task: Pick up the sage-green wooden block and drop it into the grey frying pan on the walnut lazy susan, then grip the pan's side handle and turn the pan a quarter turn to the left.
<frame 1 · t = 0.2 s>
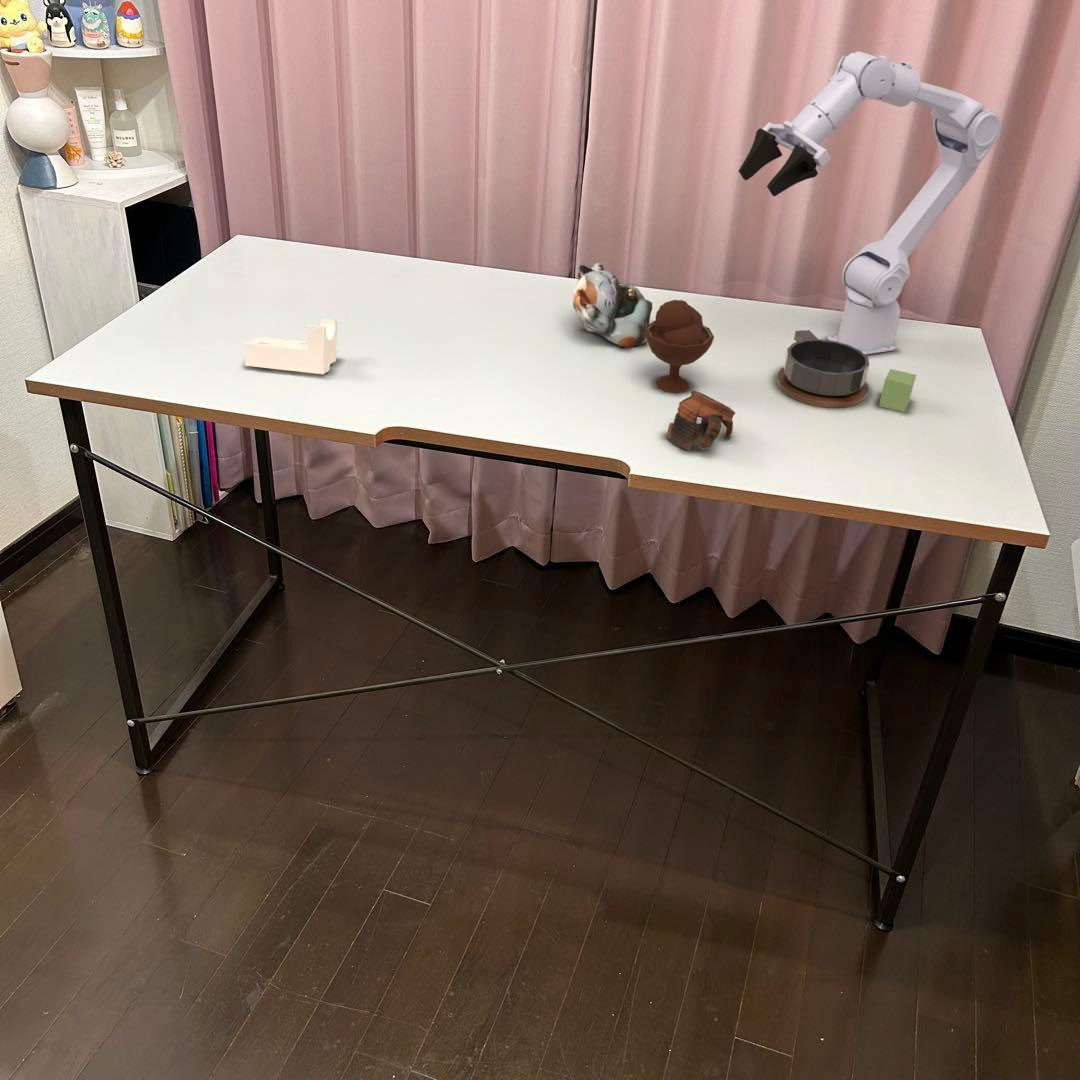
hand: (756, 183, 176), 31 cm above the table, tool tilted 50°, fingers open, 7 cm apart
pottery mug: (700, 442, 172), on the table
ice cream bowl: (672, 386, 188), on the table
grey frying pan: (820, 363, 189), point 3 cm above the table, hinge at 0.0°
lucky cat figurine: (611, 336, 203), on the table
bracket: (293, 364, 187), on the table
block: (893, 404, 186), on the table
lazy susan: (821, 386, 190), on the table
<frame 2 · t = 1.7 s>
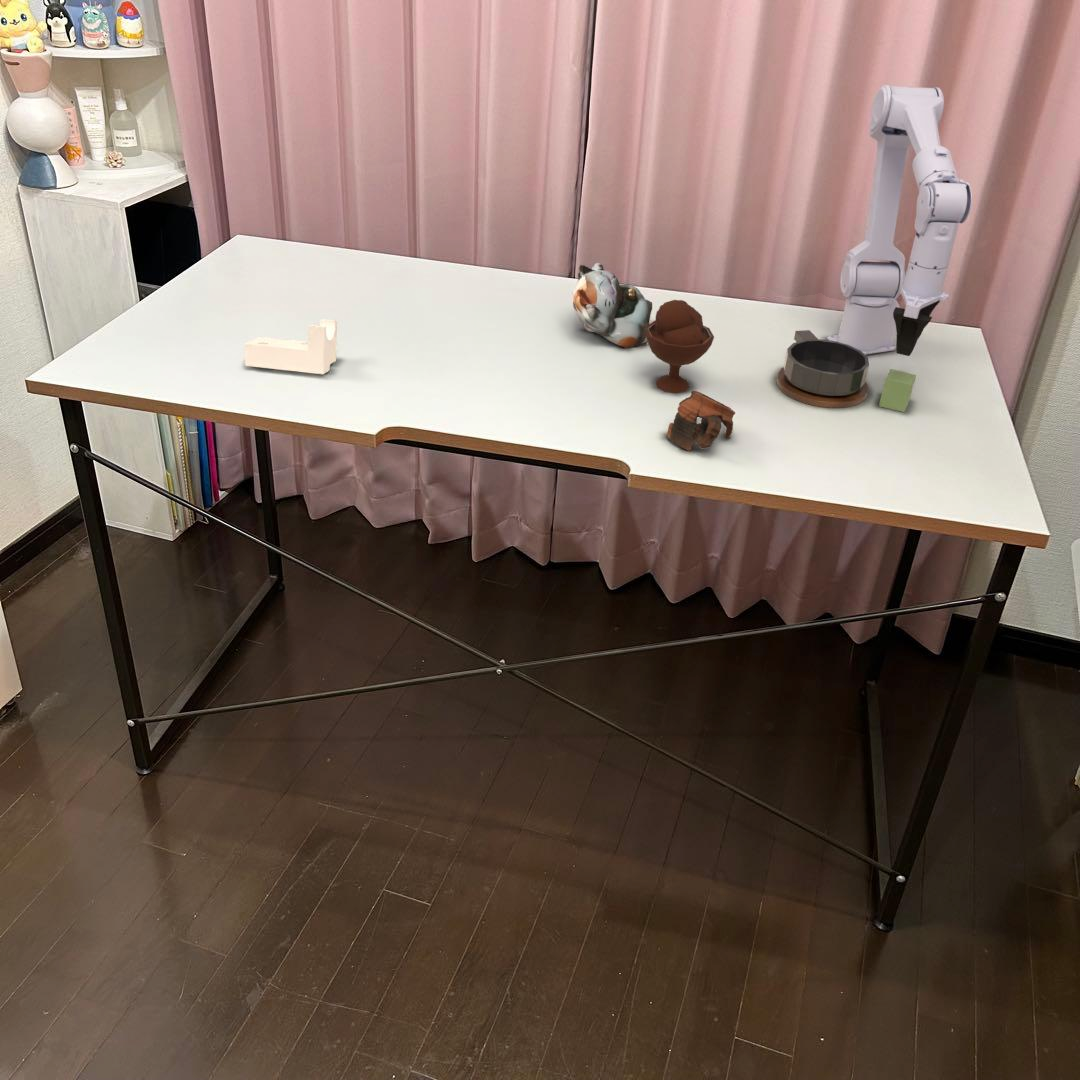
hand: (907, 345, 180), 10 cm above the table, tool pointing down, fingers open, 7 cm apart
nothing on the table moved.
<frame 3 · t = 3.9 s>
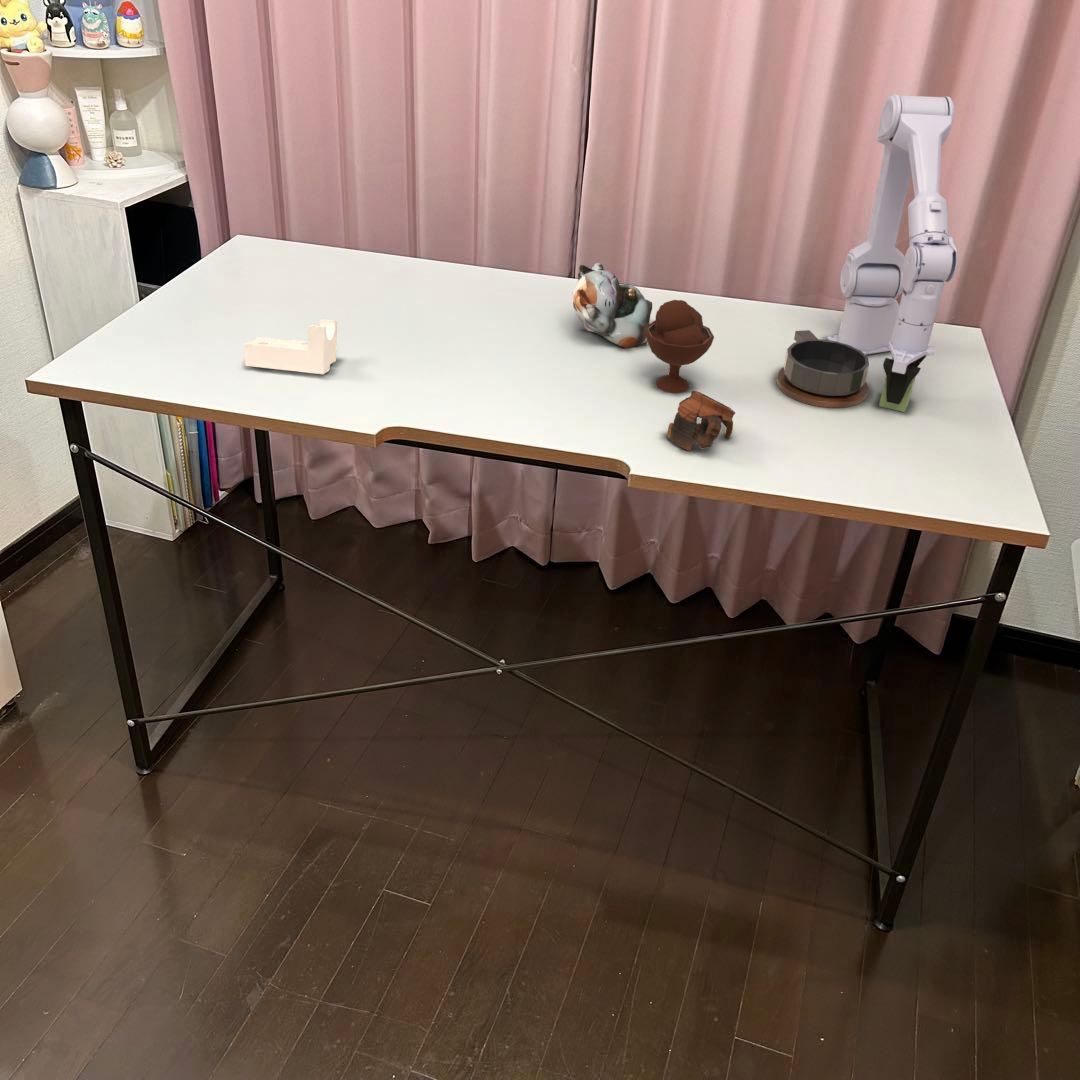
hand: (895, 396, 185), 1 cm above the table, tool pointing down, fingers closed on block, 4 cm apart
block: (893, 404, 186), on the table, touching gripper
everything else where it was.
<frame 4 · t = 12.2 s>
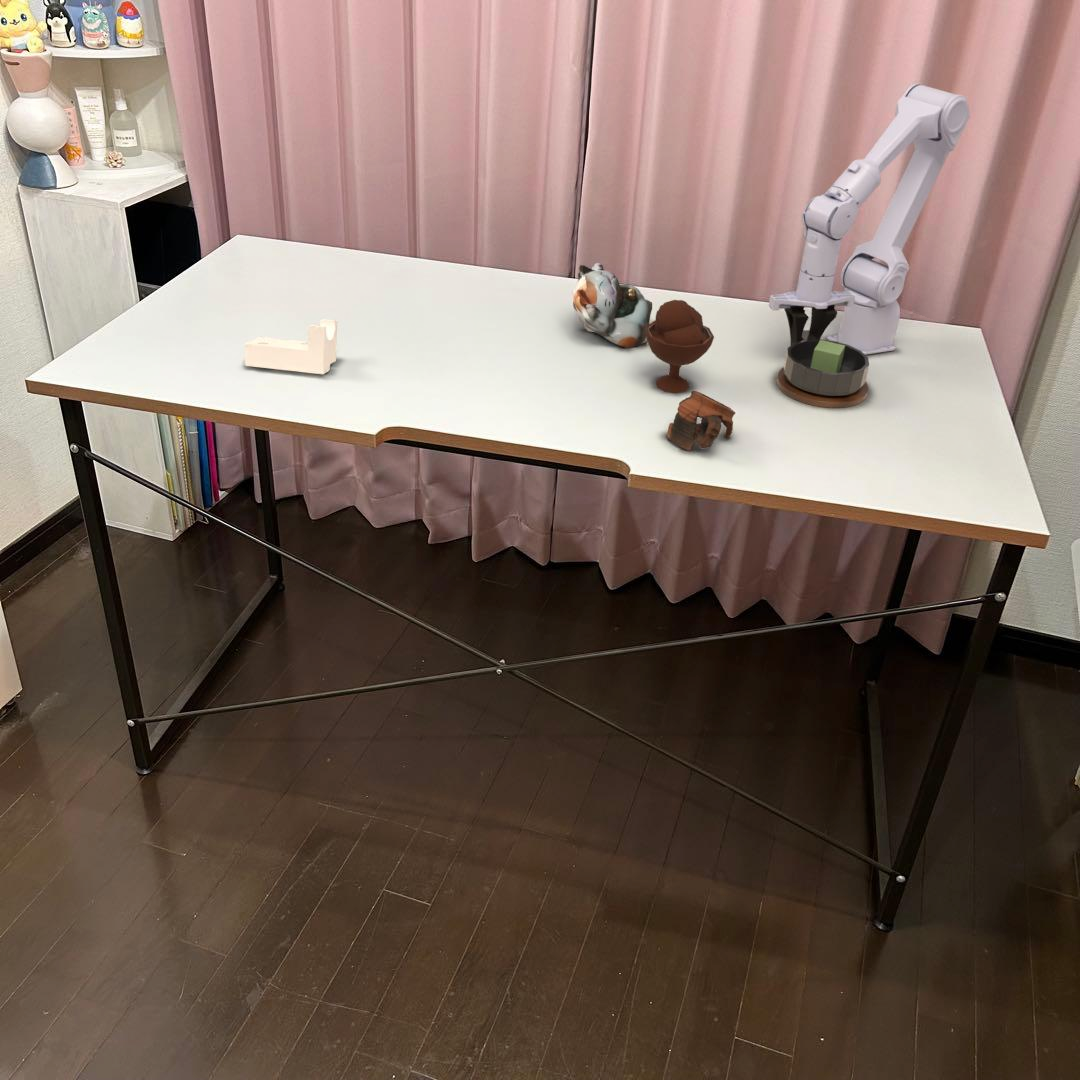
hand: (802, 346, 195), 3 cm above the table, tool pointing down, fingers closed on grey frying pan, 3 cm apart
grey frying pan: (820, 363, 189), point 3 cm above the table, hinge at -0.1°, touching block, gripper
block: (824, 374, 189), point 2 cm above the table, touching grey frying pan
everything else where it was.
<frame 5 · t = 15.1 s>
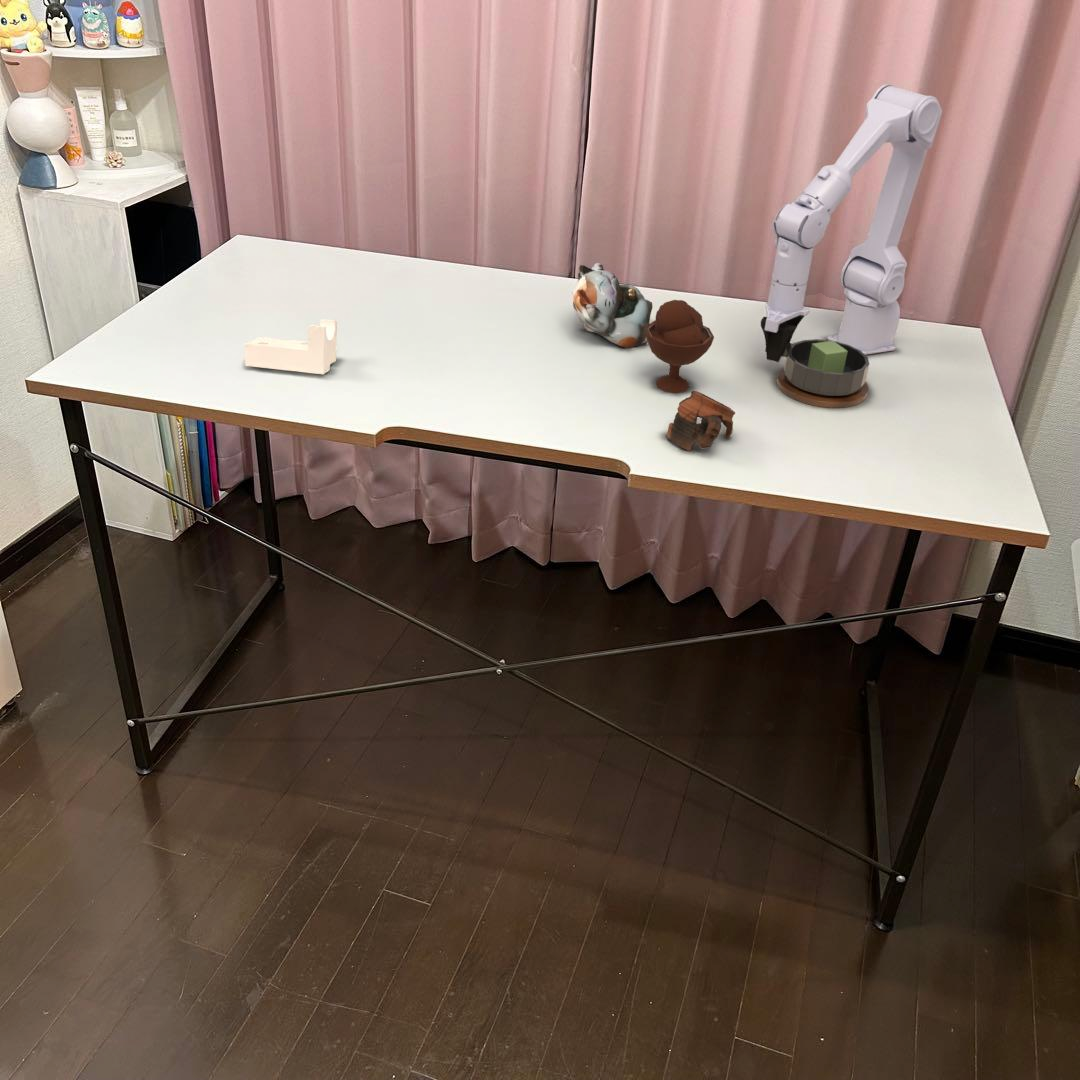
hand: (775, 356, 191), 3 cm above the table, tool pointing down, fingers closed on grey frying pan, 3 cm apart
grey frying pan: (814, 365, 189), point 3 cm above the table, hinge at 46.7°, touching block, gripper
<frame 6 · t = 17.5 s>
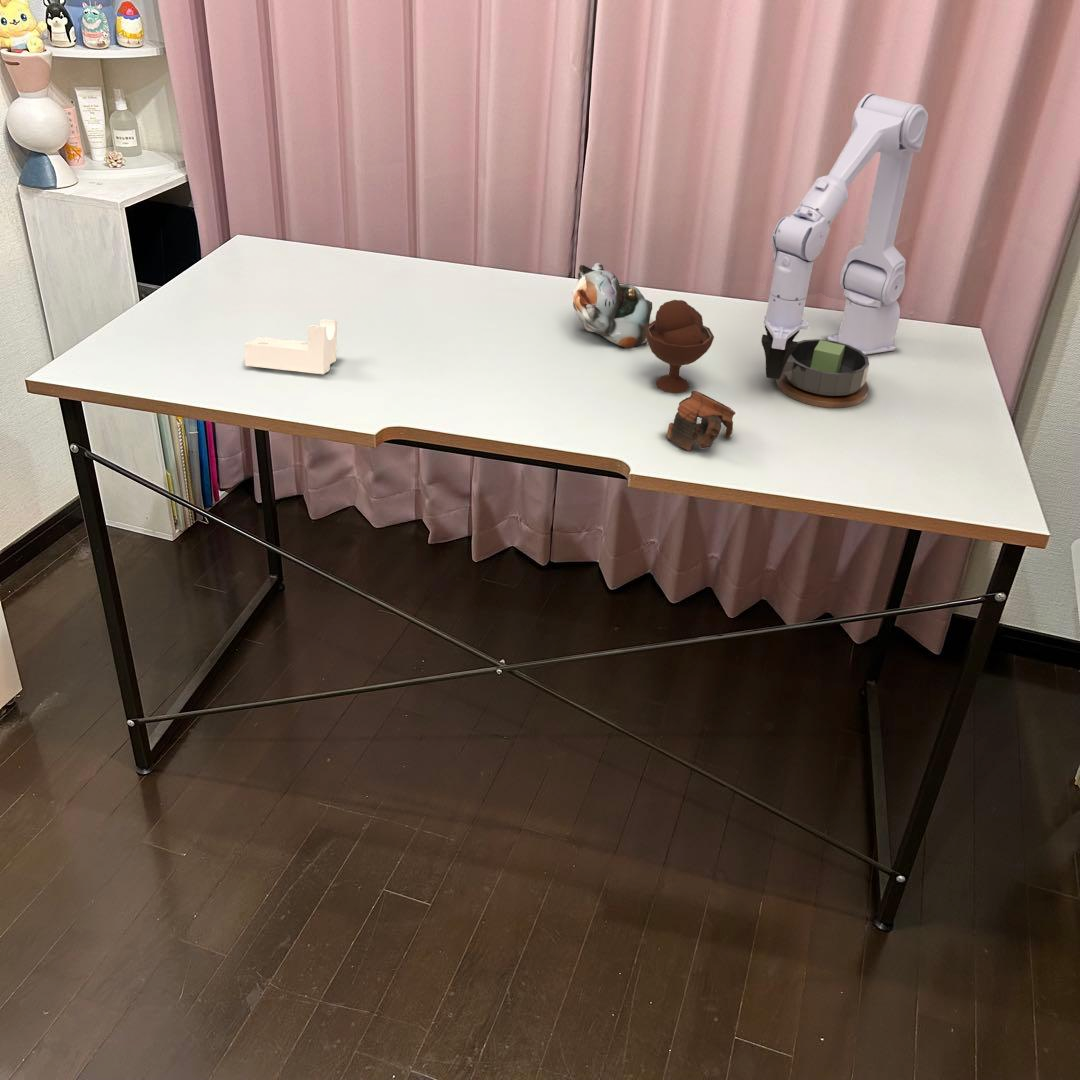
hand: (773, 372, 186), 3 cm above the table, tool pointing down, fingers closed on grey frying pan, 4 cm apart
grey frying pan: (815, 369, 188), point 3 cm above the table, hinge at 90.7°, touching block, gripper
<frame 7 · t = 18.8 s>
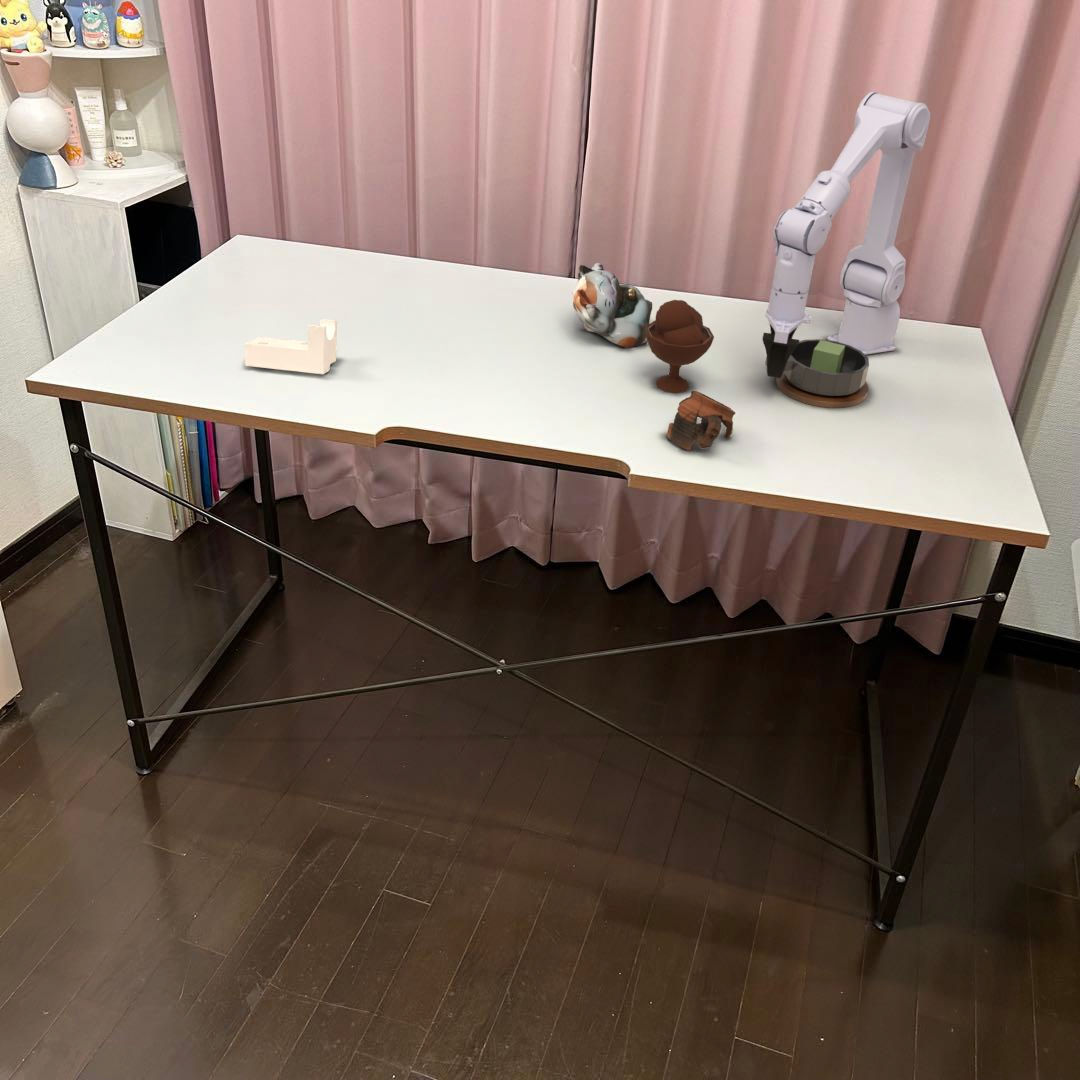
hand: (775, 366, 186), 4 cm above the table, tool pointing down, fingers open, 7 cm apart
grey frying pan: (815, 368, 188), point 3 cm above the table, hinge at 88.8°, touching block
everything else where it was.
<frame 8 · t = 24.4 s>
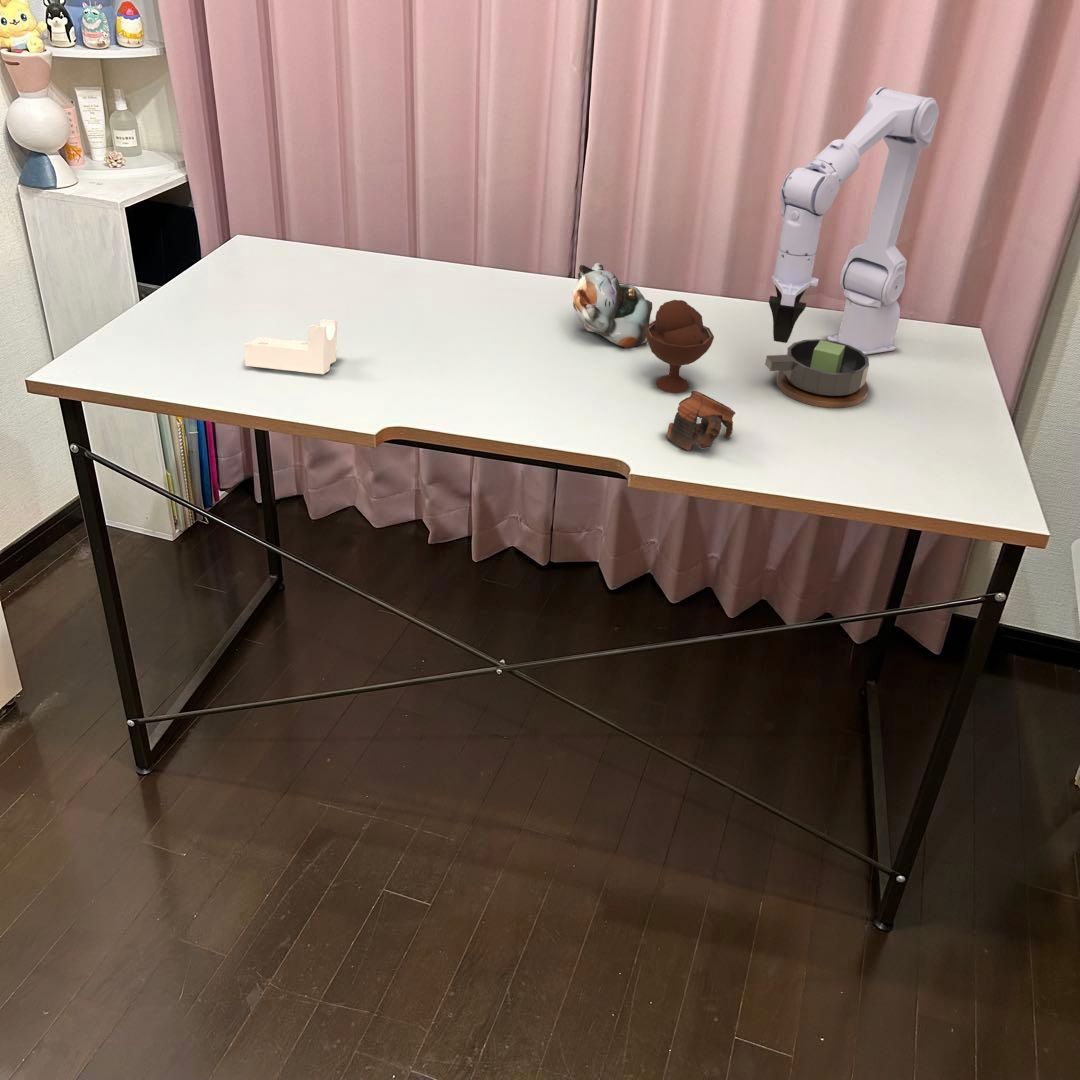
hand: (782, 331, 182), 10 cm above the table, tool pointing down, fingers open, 7 cm apart
nothing on the table moved.
at the end: block inside the target area on the grey frying pan (0.0 cm from its centre), point 2.2 cm above the grey frying pan's base; grey frying pan at +89° (first picture: +0°) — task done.
